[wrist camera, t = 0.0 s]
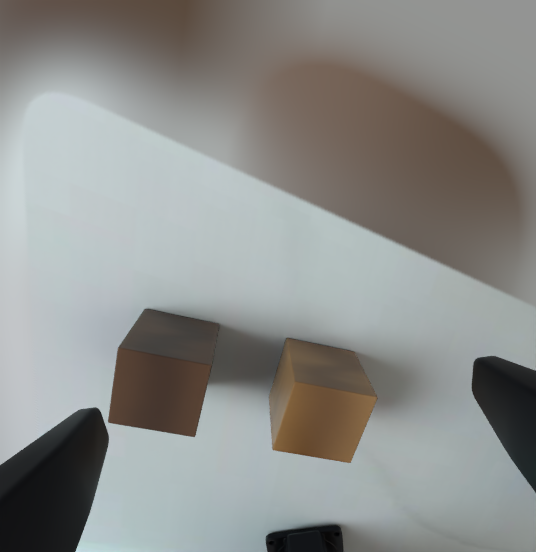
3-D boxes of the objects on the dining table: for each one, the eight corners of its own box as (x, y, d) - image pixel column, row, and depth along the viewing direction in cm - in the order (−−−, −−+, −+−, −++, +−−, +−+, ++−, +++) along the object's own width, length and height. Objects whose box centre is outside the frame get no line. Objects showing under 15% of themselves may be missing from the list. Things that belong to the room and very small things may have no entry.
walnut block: (219, 323, 24) (211, 365, 19) (205, 384, 26) (195, 437, 21) (144, 308, 23) (117, 347, 19) (134, 371, 25) (107, 423, 20)
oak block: (354, 351, 25) (378, 397, 20) (333, 408, 27) (350, 463, 22) (286, 337, 25) (294, 381, 20) (268, 396, 26) (272, 450, 21)
